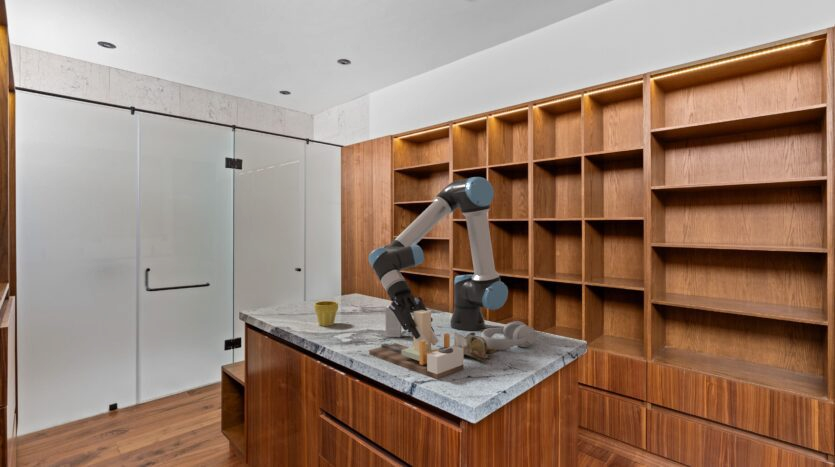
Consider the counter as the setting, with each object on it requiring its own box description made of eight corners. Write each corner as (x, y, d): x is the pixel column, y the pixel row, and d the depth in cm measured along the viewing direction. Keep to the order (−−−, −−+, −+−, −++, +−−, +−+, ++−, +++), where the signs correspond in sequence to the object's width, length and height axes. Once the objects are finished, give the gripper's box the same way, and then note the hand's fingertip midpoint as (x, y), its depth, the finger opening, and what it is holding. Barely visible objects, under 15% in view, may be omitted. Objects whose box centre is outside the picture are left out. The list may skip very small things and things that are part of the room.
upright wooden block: (401, 357, 130) (401, 311, 130) (421, 351, 136) (421, 307, 136) (423, 365, 123) (423, 316, 122) (443, 358, 129) (443, 311, 129)
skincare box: (401, 334, 165) (401, 305, 165) (400, 337, 161) (400, 307, 161) (387, 334, 166) (387, 305, 166) (385, 337, 161) (385, 307, 161)
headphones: (522, 335, 163) (475, 344, 159) (519, 316, 163) (473, 325, 159) (545, 348, 145) (493, 359, 141) (542, 327, 145) (490, 337, 141)
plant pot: (335, 327, 177) (335, 305, 177) (311, 327, 177) (311, 305, 177) (340, 321, 187) (340, 300, 187) (318, 321, 188) (317, 300, 187)
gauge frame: (419, 364, 121) (419, 340, 121) (446, 354, 130) (446, 333, 130) (422, 364, 121) (422, 341, 120) (449, 355, 129) (449, 334, 129)
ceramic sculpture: (461, 325, 145) (501, 333, 137) (460, 349, 145) (500, 358, 138) (447, 332, 136) (489, 341, 128) (446, 357, 136) (488, 368, 129)
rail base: (369, 354, 139) (369, 347, 139) (395, 347, 148) (395, 340, 148) (437, 379, 117) (437, 370, 117) (463, 369, 125) (463, 361, 125)
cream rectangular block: (426, 370, 120) (426, 351, 119) (453, 361, 128) (453, 343, 128) (437, 374, 116) (437, 354, 116) (463, 364, 125) (463, 346, 125)
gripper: (409, 290, 146) (442, 345, 134) (371, 296, 134) (405, 357, 123) (419, 277, 142) (455, 332, 131) (381, 282, 130) (417, 343, 119)
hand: (430, 344), depth 127 cm, fingers closed on upright wooden block, 4 cm apart
